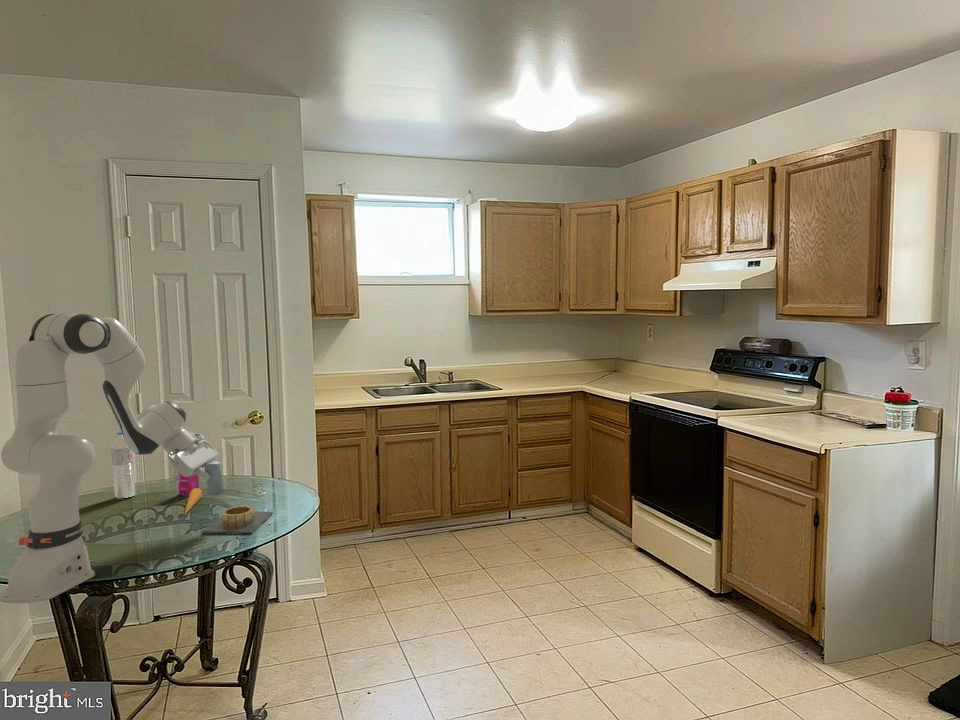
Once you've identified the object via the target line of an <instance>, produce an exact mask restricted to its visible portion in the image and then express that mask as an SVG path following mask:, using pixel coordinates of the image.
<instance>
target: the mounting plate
mask: <svg viewBox="0 0 960 720" xmlns="http://www.w3.org/2000/svg"><path fill="white" fill-rule="evenodd" d="M254 512H255V520H254V521H253V522H251V523H248V524H246V525H241V526H225V525H223V523H222V515H221V516H220V517H219V518H217V519H216V520H215V521H213V522H211V524H209V525H208V526H207V527H205V528H204V529H203V530H201V534H202V533H252V534H253V533H254V532H256V531H257V530H258V529H259V528H260V527H261V526H262V525H263V524H264V523H265V522H266V521H265V520H267V519H268V518H269V517H270V516H271V515H272V514H273V515H274V512H273V511H254ZM273 515H272V516H273ZM272 516H271V517H272ZM271 517H270V518H271ZM270 518H269V519H270ZM269 519H268V520H269ZM264 521H265V522H264ZM263 522H264V523H263ZM262 523H263V524H262ZM261 524H262V525H261ZM260 525H261V526H260ZM259 526H260V527H259ZM258 527H259V528H258ZM257 528H258V529H257ZM256 529H257V530H256Z"/></svg>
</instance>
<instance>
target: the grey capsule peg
mask: <svg viewBox="0 0 960 720" xmlns="http://www.w3.org/2000/svg"><path fill="white" fill-rule="evenodd" d="M222 468H223V467H222V461H219V460H215V461H212V462H207V463H206V464H205V467H204V471H205V472H207V473H208V472H209V473H210V474H211V475H212V477H211V478H210V479H209V480H205V486H206V487H205V488H206V495H207V496H209V497H212V496H213V497H214V496H219V495H222V494H224V484H223V483H224V482H223V479H224V478H223V469H222Z"/></svg>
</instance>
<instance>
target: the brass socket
mask: <svg viewBox="0 0 960 720" xmlns="http://www.w3.org/2000/svg"><path fill="white" fill-rule="evenodd" d="M255 512H256V511H255V508H254V506H250V505H238V506H232V507H228V508H225V509H224V510H222V511H221V516H222V523H223V525H225V526H241V525H246V524H248V523H251V522H253V521H254V520H255Z"/></svg>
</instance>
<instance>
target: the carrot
mask: <svg viewBox="0 0 960 720" xmlns="http://www.w3.org/2000/svg"><path fill="white" fill-rule="evenodd" d="M202 497H203V491H202V489H200V487H199V488H194V489H193V490H192V491H191V492H190V494H189V497H188V498H187V501H186V505H185V511H184V515H186V514H187V513H188V512H190V510H191V509H192V508H193V507H194V506H195V505H196V503H197V502H198V501H199V500H200V499H201V498H202Z"/></svg>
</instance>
